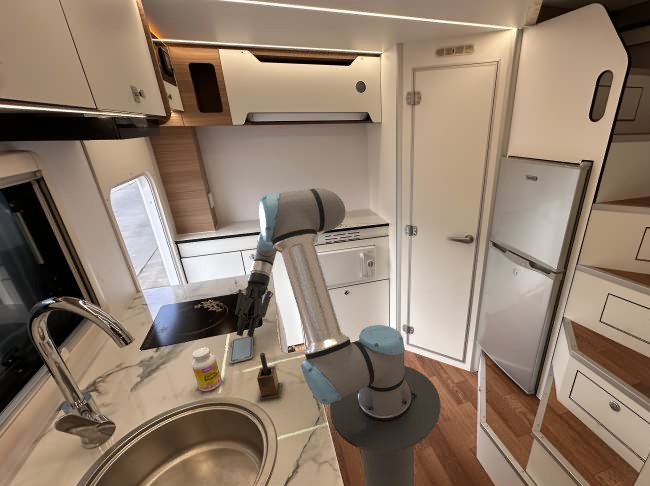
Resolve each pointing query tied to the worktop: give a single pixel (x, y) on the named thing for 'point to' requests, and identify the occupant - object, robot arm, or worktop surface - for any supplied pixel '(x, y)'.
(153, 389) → the worktop surface
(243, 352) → the smartphone
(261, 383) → the pen holder
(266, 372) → the stylus
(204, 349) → the supplement bottle
